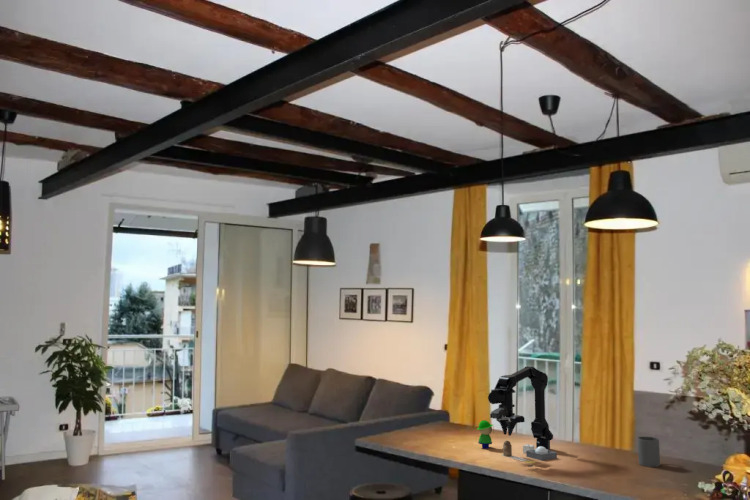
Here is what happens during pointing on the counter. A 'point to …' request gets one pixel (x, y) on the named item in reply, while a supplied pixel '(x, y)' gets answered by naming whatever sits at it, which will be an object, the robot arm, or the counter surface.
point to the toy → (485, 433)
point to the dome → (541, 450)
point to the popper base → (541, 455)
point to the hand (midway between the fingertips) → (507, 435)
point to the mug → (648, 451)
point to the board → (521, 460)
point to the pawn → (507, 449)
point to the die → (527, 448)
